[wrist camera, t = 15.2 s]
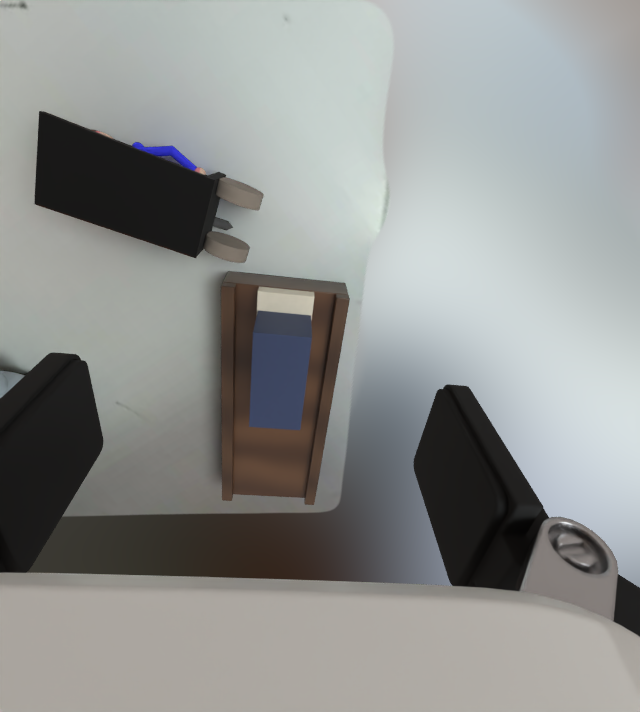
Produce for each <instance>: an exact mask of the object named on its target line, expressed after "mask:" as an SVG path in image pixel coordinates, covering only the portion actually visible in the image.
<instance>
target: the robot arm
mask: <svg viewBox="0 0 640 712" xmlns="http://www.w3.org/2000/svg"><path fill="white" fill-rule="evenodd" d="M102 447H103V436H102V431H101V426H100V422H99V417H98V412H97V408H96V403H95V398H94V393H93V389H92V384H91V379H90V374H89V370H88V366H87V363H86V362H85V361H82V360H81V359H80V357H79V356H78V355H76V354H65V353H50V354H48V355H47V356H46V357H45V358H44V359H43V360H41V361H40V362H39V363H38V364H37V365H36V366H35V367H34V368H33V369H32V370H31V371H30V372H28V373H27V374H26V375H25V376H24V377H23V378H22V379H21V380H20V381H19V382H18V383H17V384H16V385H14V386H13V387H12V388H11V389H10V390H9V391H8V392H7V393H6V394H5V395H4V396H3V397H1V398H0V712H640V588H639V587H637V586H636V585H634V584H633V583H631V582H630V581H628V580H626V579H625V578H623V577H622V576H620V575H619V574H618V567H617V561H616V559H615V556H614V555H613V553H612V551H611V549H610V548H609V547H608V546H607V544H606V543H605V542H604V541H603V540H602V539H601V538H600V537H599V536H598V535H597V534H595V533H594V532H593V531H592V530H590V529H589V528H587V527H585V526H584V525H582V524H580V523H578V522H575V521H573V520H571V519H567V518H563V517H551V518H549V517H548V515H547V514H546V512H545V510H544V509H543V505H542V504H541V502H540V501H539V499H538V497H537V496H536V494H535V493H534V491H533V489H532V488H531V486H530V485H529V483H528V481H527V480H526V478H525V477H524V475H523V473H522V472H521V470H520V469H519V467H518V465H517V464H516V462H515V460H514V459H513V457H512V456H511V454H510V452H509V451H508V449H507V448H506V446H505V444H504V443H503V441H502V440H501V438H500V437H499V435H498V433H497V432H496V430H495V428H494V427H493V426H492V424H491V422H490V420H489V419H488V417H487V415H486V414H485V412H484V411H483V409H482V407H481V406H480V404H479V403H478V401H477V399H476V398H475V396H474V395H473V393H472V391H471V390H470V389H469V387H467V386H458V385H446V386H445V387H444V388H443V389H439V390H438V391H437V393H436V396H435V399H434V402H433V405H432V408H431V411H430V414H429V417H428V420H427V423H426V425H425V428H424V431H423V434H422V437H421V440H420V443H419V446H418V449H417V452H416V455H415V458H414V471H415V474H416V478H417V480H418V484H419V487H420V490H421V493H422V496H423V499H424V503H425V506H426V509H427V512H428V515H429V518H430V521H431V524H432V528H433V531H434V534H435V537H436V540H437V543H438V546H439V550H440V553H441V555H442V559H443V562H444V565H445V568H446V571H447V575H448V578H449V580H450V583H451V584H452V585H453V586H442V585H424V584H400V583H399V584H398V583H370V582H344V581H315V580H284V579H251V578H217V577H184V576H147V575H106V574H104V575H103V574H65V573H26V572H27V571H28V570H29V569H30V568H31V566H32V565H33V563H34V562H35V560H36V558H37V557H38V555H39V553H40V552H41V550H42V548H43V547H44V545H45V543H46V542H47V540H48V539H49V537H50V535H51V533H52V532H53V530H54V528H55V527H56V525H57V524H58V522H59V520H60V519H61V517H62V515H63V514H64V512H65V510H66V509H67V507H68V505H69V504H70V502H71V501H72V499H73V497H74V496H75V494H76V492H77V491H78V489H79V487H80V486H81V484H82V482H83V481H84V479H85V477H86V476H87V474H88V472H89V471H90V469H91V467H92V466H93V464H94V462H95V461H96V459H97V458H98V456H99V454H100V452H101V450H102Z"/></svg>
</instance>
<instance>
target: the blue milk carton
mask: <svg viewBox="0 0 640 712" xmlns="http://www.w3.org/2000/svg"><path fill="white" fill-rule="evenodd" d="M313 304H314V292H309V291H299V290H289V289H279V288H269V287H259V288H258V295H257V317H256V321H255V325H254V330H253V340H252V365H251V390H250V415H249V427H258V428H273V429H288V430H300V428H301V420H302V413H303V405H304V397H305V389H306V381H307V373H308V366H309V358H310V350H311V342H312V326H311V320H312V312H313Z"/></svg>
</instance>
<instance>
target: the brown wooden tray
mask: <svg viewBox="0 0 640 712" xmlns="http://www.w3.org/2000/svg"><path fill="white" fill-rule="evenodd" d="M259 287H269V288H279V289H289V290H299V291H309V292H314V304H313V312H312V320H311V326H312V342H311V350H310V358H309V366H308V373H307V381H306V389H305V397H304V405H303V413H302V420H301V428H300V430H288V429H273V428H258V427H249V415H250V390H251V365H252V340H253V330H254V325H255V321H256V317H257V295H258V288H259ZM349 300H350V299H349V295H348V292H347V288H346V284H345V283H337V282H328V281H318V280H309V279H299V278H289V277H280V276H270V275H261V274H251V273H241V272H232V271H228V273H227V275H226V277H225V279H224V281H223V283H222V285H221V387H222V500H227V501H232V497H233V494H240V495H260V496H280V497H300V498H305V504H308V505H314V502H315V496H316V490H317V484H318V479H319V473H320V467H321V461H322V456H323V450H324V444H325V438H326V433H327V427H328V421H329V415H330V409H331V404H332V398H333V392H334V386H335V381H336V375H337V369H338V363H339V358H340V352H341V346H342V340H343V335H344V329H345V323H346V317H347V312H348V306H349Z"/></svg>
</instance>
